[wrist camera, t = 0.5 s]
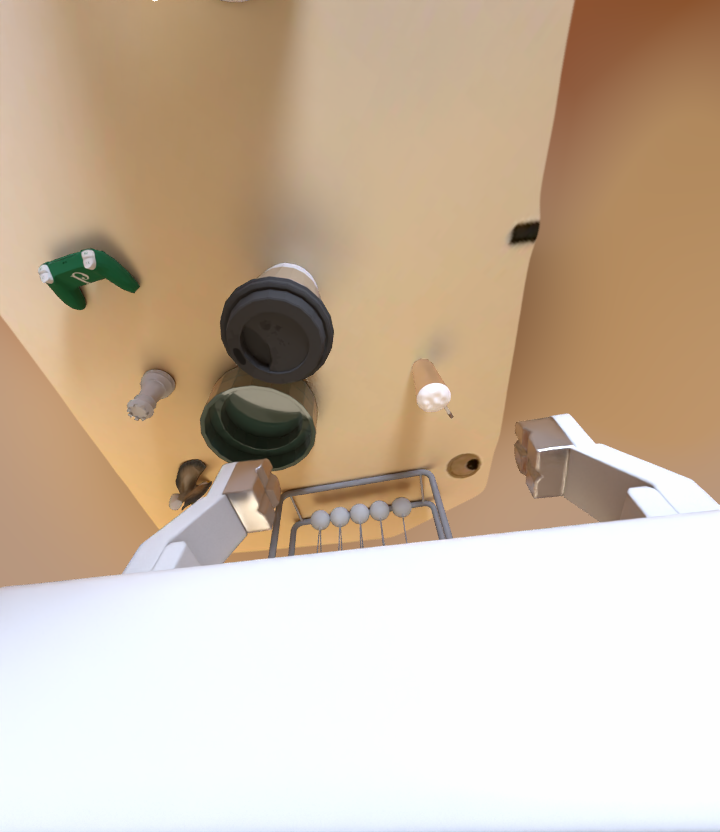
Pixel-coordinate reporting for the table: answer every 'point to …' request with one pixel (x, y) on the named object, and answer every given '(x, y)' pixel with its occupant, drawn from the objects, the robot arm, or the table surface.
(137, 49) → the table surface
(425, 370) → the milkshake
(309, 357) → the coffee cup
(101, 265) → the gaming controller
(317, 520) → the newton's cradle
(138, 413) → the rook chess piece
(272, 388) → the dark green pet bowl
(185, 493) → the eagle figurine
